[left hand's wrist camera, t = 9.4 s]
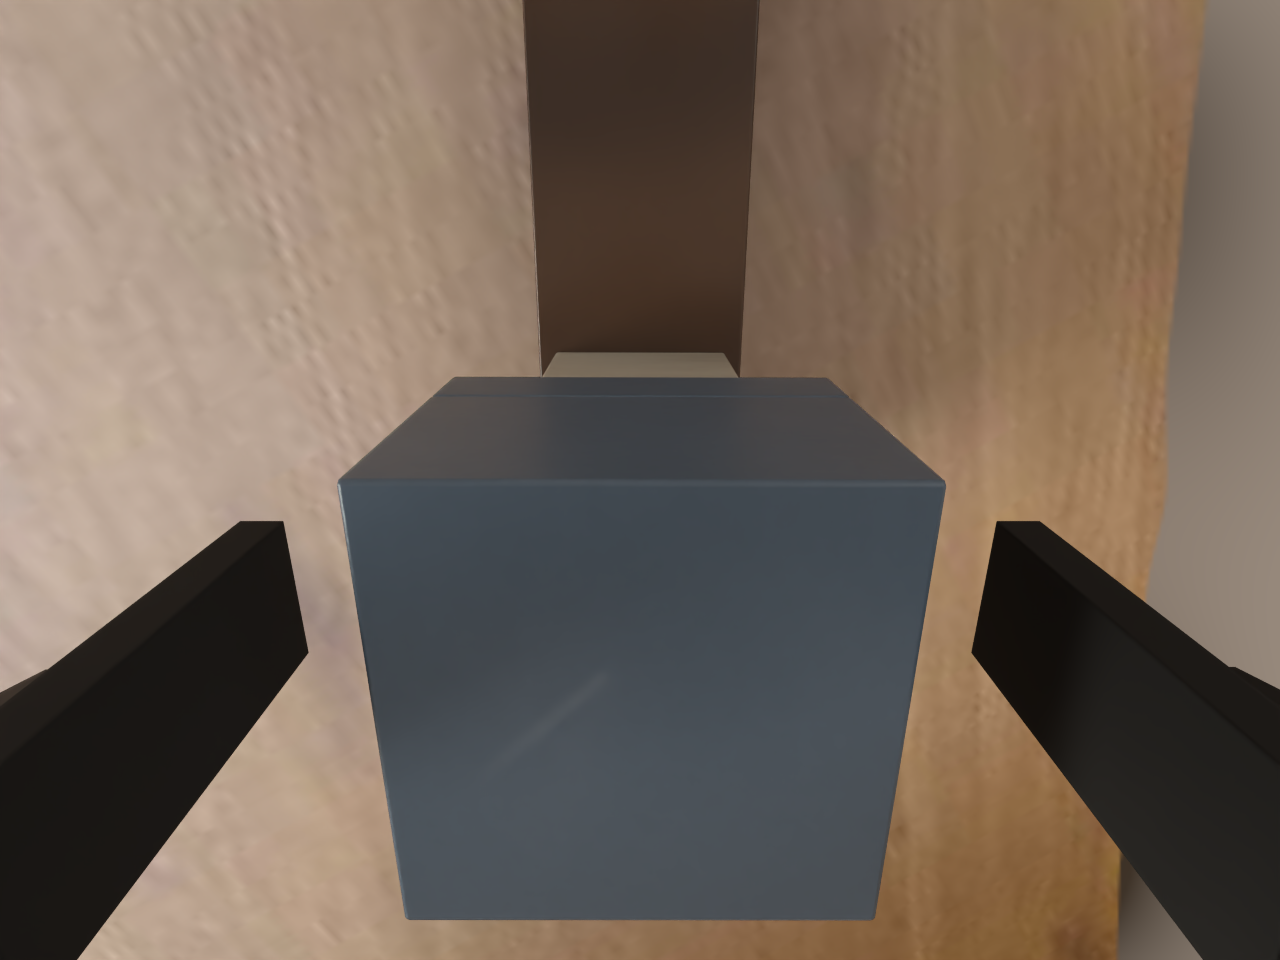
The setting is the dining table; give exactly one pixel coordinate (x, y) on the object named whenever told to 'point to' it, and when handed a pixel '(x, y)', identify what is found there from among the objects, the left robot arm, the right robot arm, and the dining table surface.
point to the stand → (640, 183)
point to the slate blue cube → (640, 645)
